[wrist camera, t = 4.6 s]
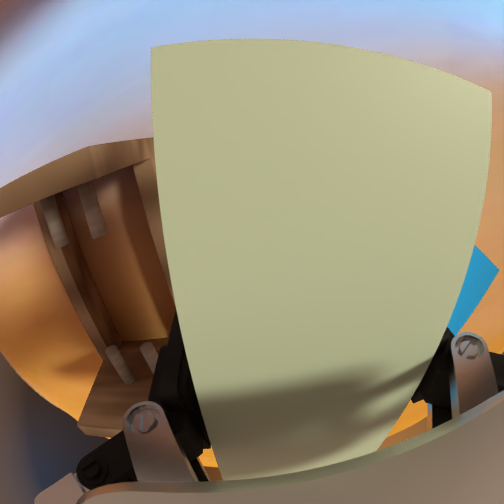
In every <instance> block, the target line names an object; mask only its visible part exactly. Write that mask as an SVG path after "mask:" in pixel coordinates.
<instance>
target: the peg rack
mask: <svg viewBox="0 0 504 504" xmlns="http://www.w3.org/2000/svg"><path fill="white" fill-rule="evenodd" d="M130 165H133V168H134V172H135V176H136V180H137V184H138V188H139V192H140V196H141V200H142V203H143V207H144V211H145V214H146V218H147V221H148V225H149V228H150V231H151V235H152V238H153V241H154V245H155V248H156V251H157V254H158V257H159V260H160V263H161V267H162V270H163V273H164V276H165V278H166V281H167V284H168V287H169V290H170V293H171V296H172V298H173V301H174V304H175V300H174V295H173V289H172V284H171V278H170V272H169V266H168V260H167V254H166V248H165V241H164V234H163V227H162V219H161V212H160V203H159V195H158V185H157V175H156V165H155V153H154V139H153V138H144V139H135V140H127V141H120V142H113V143H106V144H100V145H93V146H88V147H86V148H83V149H81V150H78V151H76V152H73V153H71V154H69V155H66V156H64V157H62V158H59V159H57V160H55V161H53V162H50V163H48V164H46V165H44V166H42V167H40V168H38V169H36V170H34V171H32V172H30V173H28V174H26V175H24V176H22V177H20V178H18V179H16V180H14V181H12V182H10V183H9V184H7V185H5V186H3V187H2V188H0V218H1V217H3V216H5V215H7V214H9V213H12V212H14V211H16V210H18V209H20V208H23V207H25V206H27V205H29V204H32V203H33V204H34V207H35V211H36V214H37V217H38V220H39V223H40V226H41V229H42V232H43V235H44V238H45V241H46V243H47V246H48V249H49V251H50V254H51V256H52V259H53V261H54V264H55V266H56V269H57V271H58V274H59V276H60V278H61V280H62V283H63V285H64V287H65V289H66V292H67V294H68V296H69V298H70V300H71V302H72V304H73V306H74V308H75V310H76V312H77V314H78V316H79V318H80V320H81V322H82V324H83V326H84V328H85V329H86V331H87V333H88V335H89V337H90V339H91V340H92V342H93V344H94V346H95V347H96V349H97V351H98V352H99V354H100V356H101V357H102V359H103V363H102V365H101V367H100V370H99V372H98V374H97V377H96V379H95V381H94V384H93V386H92V388H91V391H90V393H89V396H88V398H87V401H86V403H85V406H84V408H83V411H82V413H81V416H80V418H79V421H78V424H77V426H78V427H79V428H80V429H81V430H82V431H83V432H84V433H85V434H86V435H93V436H101V437H110V438H112V437H114V436H115V435H116V434H118V433H119V432H121V431H122V430H123V427H122V419H123V416H124V414H125V413H126V411H127V410H128V409H129V408H130V407H131V406H132V405H134V404H136V403H139V402H143V401H148V397H149V393H150V388H151V384H152V380H153V375H154V371H155V367H156V363H157V359H158V355H159V351H160V348H161V347H162V346H164V345H168V341H169V338H162V339H153V340H143V341H132V342H122V341H121V339H120V337H119V335H118V333H117V331H116V329H115V328H114V326H113V324H112V321H111V319H110V317H109V315H108V313H107V311H106V309H105V307H104V305H103V303H102V300H101V298H100V296H99V294H98V291H97V289H96V287H95V284H94V282H93V280H92V277H91V275H90V273H89V270H88V268H87V265H86V262H85V260H84V257H83V255H82V252H81V249H80V247H79V244H78V241H77V238H76V235H75V232H74V229H73V227H72V223H71V220H70V217H69V214H68V211H67V208H66V204H65V201H64V197H63V194H62V191H64V190H67V189H69V188H72V187H75V186H76V187H77V191H78V194H79V198H80V201H81V205H82V208H83V211H84V215H85V218H86V221H87V224H88V227H89V230H90V233H91V236H92V239H95V238H99V237H101V236H103V235H105V234H107V233H108V232H107V229H106V226H105V223H104V219H103V216H102V213H101V210H100V206H99V203H98V199H97V196H96V192H95V189H94V185H93V181H92V180H95V179H97V178H100V177H102V176H104V175H107V174H109V173H112V172H114V171H117V170H119V169H122V168H125V167H127V166H130ZM175 307H176V305H175Z"/></svg>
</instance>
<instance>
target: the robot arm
mask: <svg viewBox="0 0 504 504" xmlns="http://www.w3.org/2000/svg"><path fill="white" fill-rule="evenodd" d="M423 399H424V401H425V402H426V403H428V431H426V432H424V433H422V434H420V435H418V436H415V437H413V438H410V439H408V440H405V441H403V442H401V443H398V444H395V445H392V446H390V447H387V448H384V449H382V450H379V451H376V452H373V453H370V454H366V455H363V456H360V457H357V458H353V459H350V460H346V461H343V462H339V463H335V464H331V465H327V466H323V467H319V468H314V469H309V470H304V471H299V472H294V473H288V474H282V475H276V476H268V477H261V478H252V479H241V480H227V481H211V480H210V478H209V476H208V474H207V472H206V470H205V469H204V467H203V465H202V463H201V461H200V459H199V457H198V456H200V455H201V454H202V453H203V449H209V448H211V443H210V440H209V436H208V433H207V430H206V427H205V423H204V420H203V416H202V413H201V410H200V406H199V402H198V399H197V395H196V391H195V388H194V384H193V380H192V376H191V372H190V368H189V364H188V360H187V356H186V352H185V347H184V343H183V338H182V334H181V329H180V325H179V320H178V315H177V310H176V312H175V316H174V320H173V324H172V328H171V332H170V336H169V341H168V345H164V346H162V347H161V348H160V351H159V355H158V359H157V363H156V367H155V371H154V375H153V380H152V384H151V388H150V393H149V397H148V401H143V402H139V403H136V404H134V405H132V406H131V407H130V408H129V409H128V410H127V411H126V413H125V414H124V416H123V419H122V427H123V430H122V431H121V432H119V433H118V434H116V435H115V436H114V437H112V438H111V439H109V440H108V441H107V442H105V443H104V444H102V445H101V446H99V447H98V448H97V449H95V450H94V451H92V452H91V453H89V454H88V455H86V456H85V457H84V458H82V459H81V460H80V462H79V464H78V466H77V470H76V471H77V472H76V473H75V474H73V473H69V474H68V475H66V476H65V477H64V478H62V479H61V480H59V481H58V482H56V483H55V484H53V485H52V486H50V487H49V488H47V489H46V490H44V491H43V492H41V493H40V494H38V495H37V497H36V499H35V501H34V504H504V355H501V354H497V353H492V352H489V350H488V347H487V344H486V342H485V341H484V340H483V339H482V337H480V336H479V335H477V334H474V333H471V332H463V333H460V334H458V335H456V336H454V334H453V333H452V332H451V331H450V329H449V328H448V327H447V328H446V330H445V332H444V335H443V337H442V339H441V341H440V344H439V346H438V348H437V350H436V352H435V354H434V356H433V358H432V360H431V362H430V364H429V366H428V368H427V370H426V372H425V374H424V376H423V378H422V380H421V382H420V383H419V385H418V387H417V389H416V391H415V392H414V394H413V396H412V397H411V400H412V402H413V403H416V402H418V401H420V400H423Z"/></svg>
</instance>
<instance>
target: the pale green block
mask: <svg viewBox="0 0 504 504" xmlns="http://www.w3.org/2000/svg"><path fill="white" fill-rule="evenodd" d="M151 100H152V123H153V139H154V153H155V165H156V175H157V185H158V195H159V203H160V212H161V219H162V227H163V234H164V241H165V248H166V254H167V260H168V266H169V272H170V278H171V284H172V289H173V295H174V300H175V305H176V310H177V315H178V320H179V325H180V329H181V334H182V338H183V343H184V347H185V352H186V356H187V360H188V364H189V368H190V372H191V376H192V380H193V384H194V388H195V391H196V395H197V399H198V402H199V406H200V410H201V413H202V416H203V420H204V423H205V427H206V430H207V433H208V436H209V440H210V443H211V446H212V449H213V452H214V455H215V458H216V461H217V464H218V467H219V470H220V473H221V475H222V478H223V481H227V480H241V479H252V478H261V477H268V476H276V475H282V474H288V473H294V472H299V471H304V470H309V469H314V468H319V467H323V466H327V465H331V464H335V463H339V462H343V461H346V460H350V459H353V458H357V457H360V456H363V455H366V454H370V453H373V452H376V450H377V449H378V448H379V446H380V445H381V443H382V442H383V441H384V439H385V438H386V437H387V435H388V434H389V432H390V431H391V429H392V428H393V426H394V425H395V423H396V422H397V420H398V419H399V417H400V416H401V414H402V412H403V411H404V409H405V408H406V406H407V404H408V403H409V401H410V399H411V397H412V396H413V394H414V392H415V391H416V389H417V387H418V385H419V383H420V382H421V380H422V378H423V376H424V374H425V372H426V370H427V368H428V366H429V364H430V362H431V360H432V358H433V356H434V354H435V352H436V350H437V348H438V346H439V344H440V341H441V339H442V337H443V335H444V332H445V330H446V328H447V325H448V323H449V320H450V318H451V315H452V313H453V310H454V308H455V305H456V302H457V300H458V297H459V294H460V291H461V288H462V285H463V282H464V279H465V276H466V273H467V269H468V266H469V263H470V259H471V256H472V252H473V248H474V244H475V240H476V236H477V232H478V228H479V223H480V218H481V213H482V208H483V203H484V197H485V191H486V184H487V176H488V168H489V158H490V146H491V125H492V97H491V91H489V90H487V89H484V88H482V87H480V86H478V85H476V84H473V83H471V82H469V81H466V80H464V79H461V78H459V77H456V76H454V75H451V74H449V73H446V72H443V71H440V70H438V69H435V68H432V67H429V66H426V65H422V64H419V63H416V62H413V61H409V60H406V59H402V58H398V57H394V56H390V55H386V54H382V53H378V52H373V51H368V50H363V49H358V48H353V47H347V46H341V45H334V44H326V43H318V42H309V41H297V40H281V39H223V40H207V41H196V42H186V43H178V44H170V45H164V46H157V47H151Z"/></svg>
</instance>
